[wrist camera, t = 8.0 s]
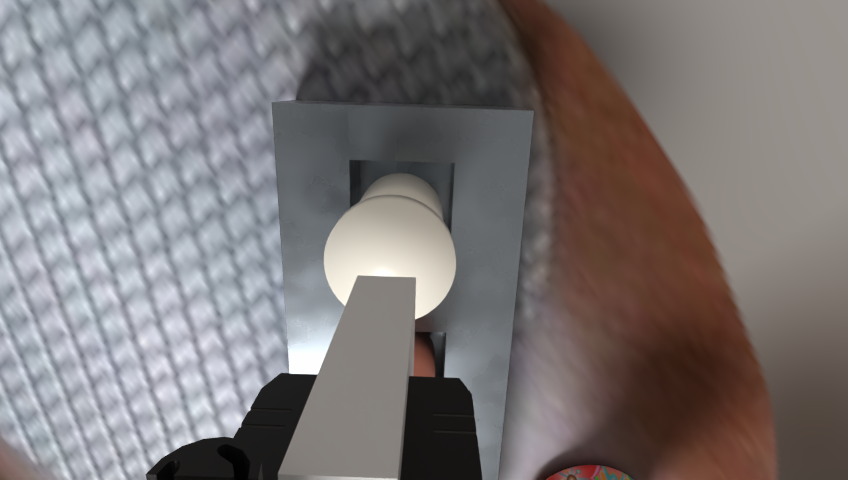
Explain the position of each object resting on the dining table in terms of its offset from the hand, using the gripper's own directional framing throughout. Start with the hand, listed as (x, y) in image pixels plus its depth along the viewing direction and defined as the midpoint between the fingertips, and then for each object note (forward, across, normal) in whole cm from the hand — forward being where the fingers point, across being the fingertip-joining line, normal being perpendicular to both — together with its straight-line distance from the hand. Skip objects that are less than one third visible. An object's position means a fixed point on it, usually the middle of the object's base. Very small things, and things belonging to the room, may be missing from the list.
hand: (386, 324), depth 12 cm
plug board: (+15, 0, -9) cm, 18 cm away
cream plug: (+11, 0, 0) cm, 11 cm away
